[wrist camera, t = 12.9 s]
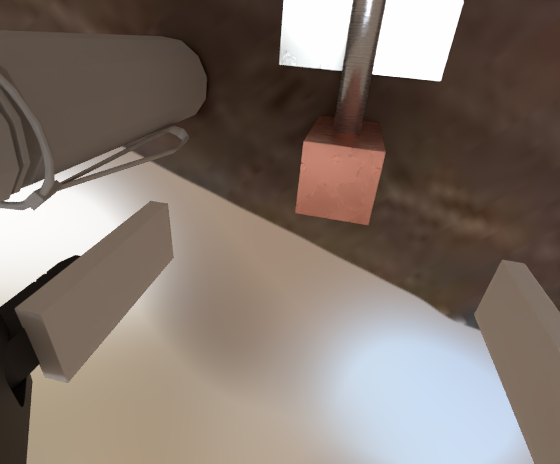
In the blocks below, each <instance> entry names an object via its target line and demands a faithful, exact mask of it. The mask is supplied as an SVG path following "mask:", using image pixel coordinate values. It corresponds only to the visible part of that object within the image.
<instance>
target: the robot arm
mask: <svg viewBox="0 0 560 464" xmlns="http://www.w3.org/2000/svg"><path fill="white" fill-rule="evenodd" d="M172 258H173V249H172V239H171V230H170V220H169V210H168V204H166V203H160V202H154V201H150V202H149V203H148V204H146V205H145V206H144V207H143V208H141V209H140V210H139V211H138V212H136V213H135V214H134V215H132V216H131V217H130V218H129V219H127V220H126V221H125V222H124V223H122V224H121V225H120V226H119V227H117V228H116V229H115V230H114V231H112V232H111V233H110V234H108V235H107V236H106V237H105V238H103V239H102V240H101V241H100V242H98V243H97V244H96V245H94V246H93V247H92V248H91V249H89V250H88V251H87V252H86V253H84V254H83V255H82V256H78V255H75V256H73V257H70V258H68V259H66V260H64V261H61V262H60V263H58V264H57V265H55V266H54V267H53V268H51V269H50V270H49V271H47V274H43V275H42V276H41V277H39V278H38V279H37V280H36V282H33V283H31V284H30V285H29V286H27V287H26V288H25V289H24V290H22V291H21V292H19V293H18V294H17V295H16V296H14V297H13V298H12V299H10V300H9V301H8V302H6V303H5V304H4V305H2V306H1V307H0V464H26V458H27V445H28V431H29V419H30V406H31V392H32V379H31V375H30V373H31V372H32V371H33V370H34V369H35V368H36V367H37V366H38V365H40V367H41V369H42V371H43V374H44V376H45V377H47V378H51V379H55V380H58V381H63V382H66V383H68V382H69V381H70V380H71V379H72V377H73V376H74V375H75V374H76V373H77V371H78V370H79V369H80V368H81V366H83V364H84V363H85V362H86V361H87V360H88V358H89V357H90V356H91V355H92V354H93V352H94V351H95V350H96V349H97V348H98V347H99V345H100V344H101V343H102V341H104V339H105V338H106V337H107V336H108V335H109V334H110V332H111V331H112V330H113V329H114V328H115V326H116V325H117V324H118V323H119V322H120V320H121V319H122V318H123V317H124V316H125V315H126V313H127V312H128V311H129V310H130V308H131V307H132V306H133V305H134V304H135V303H136V301H137V300H138V299H139V298H140V297H141V296H142V294H143V293H144V292H145V291H146V289H147V288H148V287H149V286H150V285H151V284H152V282H153V281H154V280H155V279H156V278H157V277H158V275H159V274H160V273H161V272H162V271H163V269H164V268H165V267H166V266H167V265H168V263H169V262H170V261H171V260H172ZM474 316H475V318H476V321H477V323H478V325H479V328H480V330H481V333H482V335H483V338H484V340H485V343H486V345H487V347H488V350H489V353H490V355H491V358H492V360H493V362H494V365H495V367H496V370H497V372H498V374H499V377H500V380H501V382H502V385H503V387H504V389H505V391H506V395H507V397H508V399H509V402H510V404H511V407H512V409H513V412H514V414H515V416H516V419H517V422H518V424H519V427H520V429H521V431H522V434H523V436H524V439H525V441H526V444H527V446H528V449H529V451H530V453H531V456H532V458H533V461H534V464H560V312H559V311H558V310H557V308H556V307H555V305H554V304H553V303H552V301H551V300H550V298H549V297H548V296H547V294H546V293H545V291H544V290H543V289H542V287H541V286H540V284H539V283H538V282H537V280H536V279H535V277H534V276H533V275H532V273H531V272H530V271H529V269H528V268H527V266H526V265H525V264H524V263H518V262H512V261H506V260H502V261H501V263H500V265H499V267H498V269H497V271H496V273H495V275H494V277H493V279H492V281H491V283H490V284H489V286H488V288H487V290H486V292H485V294H484V296H483V298H482V300H481V302H480V304H479V306H478V308H477V310H476V312H475V314H474Z"/></svg>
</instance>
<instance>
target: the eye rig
mask: <svg viewBox="0 0 560 464" xmlns="http://www.w3.org/2000/svg"><path fill="white" fill-rule="evenodd" d="M463 2H464V0H387V1H386V6H385V11H384V16H383V21H382V27H381V32H380V37H379V42H378V47H377V52H376V57H375V62H374V67H373V73H372V74H376V75H385V76H395V77H405V78H414V79H424V80H434V81H441V78H442V75H443V71H444V68H445V64H446V61H447V58H448V54H449V51H450V47H451V44H452V40H453V37H454V33H455V30H456V27H457V23H458V20H459V16H460V13H461V9H462V6H463ZM352 3H353V0H284V2H283V16H282V30H281V45H280V59H279V65H289V66H298V67H308V68H318V69H327V70H337V71H342V68H343V61H344V55H345V48H346V42H347V35H348V29H349V23H350V16H351V10H352Z"/></svg>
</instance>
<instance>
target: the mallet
mask: <svg viewBox="0 0 560 464" xmlns="http://www.w3.org/2000/svg"><path fill="white" fill-rule="evenodd" d="M386 1H387V0H353V3H352V10H351V16H350V23H349V29H348V35H347V42H346V48H345V55H344V61H343V68H342V74H341V81H340V87H339V94H338V100H337V107H336V113H335V117H331V116H323V115H319V117H318V118H317V120H316V122H315V123H314V125H313V126H312V128H311V130H310V131H309V133H308V135H307V136H306V138H305V140H304V141H303V150H302V159H301V168H300V177H299V185H298V194H297V203H296V212H295V213H299V214H305V215H311V216H317V217H323V218H329V219H335V220H341V221H347V222H353V223H359V224H365V225H368V224H369V220H370V216H371V211H372V207H373V203H374V199H375V195H376V191H377V186H378V182H379V178H380V174H381V170H382V165H383V161H384V157H385V153H386V151H385V147H384V142H383V137H382V133H381V128H380V123H379V122H371V121H363V118H364V113H365V108H366V103H367V98H368V93H369V88H370V83H371V78H372V73H373V67H374V62H375V57H376V52H377V47H378V42H379V37H380V32H381V27H382V21H383V16H384V11H385V6H386Z"/></svg>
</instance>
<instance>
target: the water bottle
mask: <svg viewBox="0 0 560 464" xmlns="http://www.w3.org/2000/svg"><path fill="white" fill-rule="evenodd" d="M206 86H207V76H206V74H205V72H204V69H203V67H202V64H201V62H200V59H199V57H198V55H197V54H196V53H194V52H193V51H192V50H191V49H190V48H189V47H188V46H187V45H186V44H185V43H184V42H182V41H181V40H177V39H172V38H168V37H163V36H143V35H116V34H89V33H61V32H34V31H7V30H0V208H7V209H16V210H25V209H27V208H29V207H31V208H32V209H33V210H35V209H36V208H37V207H39V206H40V205H41V204H42V203H43V202H44V201H46V200H47V199H48V198H50V197H51V196H52V195H53V194H54V193H56V192H57V191H59V190H62V189H65V188H68V187H71V186H74V185H77V184H80V183H84V182H86V181H90V180H92V179H96V178H99V177H102V176H105V175H108V174H111V173H114V172H117V171H121V170H124V169H127V168H130V167H133V166H136V165H139V164H142V163H145V162H148V161H151V160H155V159H158V158H161V157H164V156H167V155H170V154H173V153H174V152H175V151H177V150H178V149H180V148H181V147H182V146H183V145H184V144H185V143H186V142H187V141H188V139H189V138H190V137H189V136H188V134H187V133H186V131H185V130H184V129H183V128H179V127H176V126H172V127H169V128H166V129H163V128H165V127H168V126H170V125H172V124H175V123H177V122H179V121H182V120H184V119H186V118H189V117H191V116H194V115H196V113H197V112H198V110H199V109H200V107H201V106H202V104H203V103H204V101H205V100H206ZM161 129H163V130H162V131H160V132H158V133H156V134H154V135H152V136H150V137H148V138H146V139H144V140H142V141H140V142H138V143H136V144H134V145H132V146H130V147H128V148H126V149H124V150H123V151H121V152H119V153H117V154H115V155H113V156H111V157H109V158H107V159H105V160H103V161H101V162H99V163H97V164H95V165H93V166H91V167H90V168H88V169H86V170H84V171H82V172H80V173H78V174H76V175H74V176H72V177H70V178H68V179H66V180H64V181H63V182H61V183H59V182H58V181H57V180H56V181H54V175H55V174H57V173H59V172H61V171H64V170H66V169H69V168H71V167H73V166H76V165H78V164H80V163H83V162H85V161H88V160H90V159H92V158H94V157H97V156H99V155H102V154H104V153H106V152H109V151H111V150H113V149H116V148H118V147H121V146H123V145H125V144H128V143H130V142H132V141H135V140H137V139H139V138H142V137H144V136H146V135H149V134H151V133H154V132H156V131H158V130H161ZM167 132H169V133H172V134H174V135H176V136H178V137H179V138H180V139H181V140H182V142H181V144H180V146H178V147H177V148H174V149H171V150H167V151H164V152H161V153H158V154H155V155H152V156H149V157H145V158H142V159H139V160H136V161H133V162H130V163H127V164H124V165H120V166H117V167H114V168H111V169H108V170H105V171H101V172H98V173H95V174H92V175H89V176H86V177H83V178H80V179H77V180H75V179H76V178H79V177H81V176H83V175H85V174H86V173H89V172H90V171H92V170H94V169H96V168H98V167H100V166H102V165H104V164H106V163H108V162H110V161H112V160H114V159H116V158H118V157H120V156H122V155H124V154H126V153H128V152H130V151H132V150H134V149H136V148H138V147H140V146H142V145H144V144H146V143H148V142H149V141H151V140H153V139H155V138H157V137H159V136H161V135H163V134H165V133H167ZM43 179H45V180H44V183H43V185H42V187H41V188H40V189H38V190H36V191H34V192H33V193H32V194H31V195H30V196H29V197H28V198H27V199H26V200H25V201H22V202H4V200H7V199H9V197H10V195H11V194H14V193H16V192H19V191H20V189H21V188H23V187H25V186H28V185H31V184H33V183H36V182H38V181H40V180H43Z"/></svg>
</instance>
